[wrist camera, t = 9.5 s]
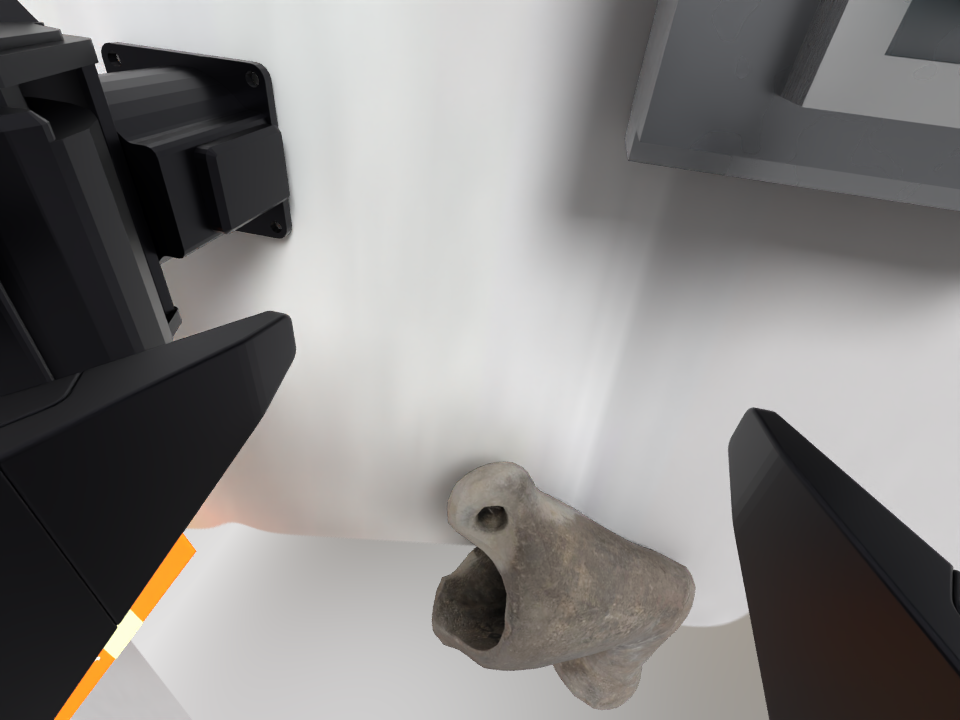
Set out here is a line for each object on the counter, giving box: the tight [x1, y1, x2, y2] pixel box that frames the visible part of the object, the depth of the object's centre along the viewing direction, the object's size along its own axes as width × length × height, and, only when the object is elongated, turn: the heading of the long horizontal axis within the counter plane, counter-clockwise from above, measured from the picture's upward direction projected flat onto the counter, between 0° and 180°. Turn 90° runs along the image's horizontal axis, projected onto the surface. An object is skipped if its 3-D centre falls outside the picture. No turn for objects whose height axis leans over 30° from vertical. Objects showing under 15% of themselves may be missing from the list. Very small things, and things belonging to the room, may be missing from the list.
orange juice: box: [54, 533, 196, 720], centre depth 32 cm, size 8×9×20 cm
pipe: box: [432, 462, 695, 710], centre depth 28 cm, size 16×9×15 cm
